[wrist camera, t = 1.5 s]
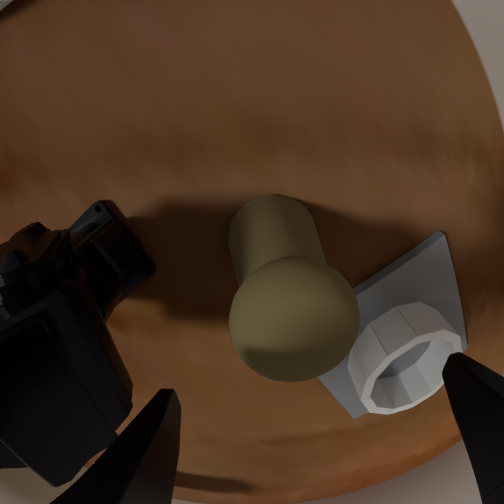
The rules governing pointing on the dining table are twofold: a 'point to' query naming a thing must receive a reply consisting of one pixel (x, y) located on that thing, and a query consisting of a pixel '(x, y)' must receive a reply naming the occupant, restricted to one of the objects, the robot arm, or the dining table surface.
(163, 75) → the dining table surface
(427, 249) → the cup stand
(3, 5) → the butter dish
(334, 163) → the dining table surface
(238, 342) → the cork
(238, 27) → the dining table surface
